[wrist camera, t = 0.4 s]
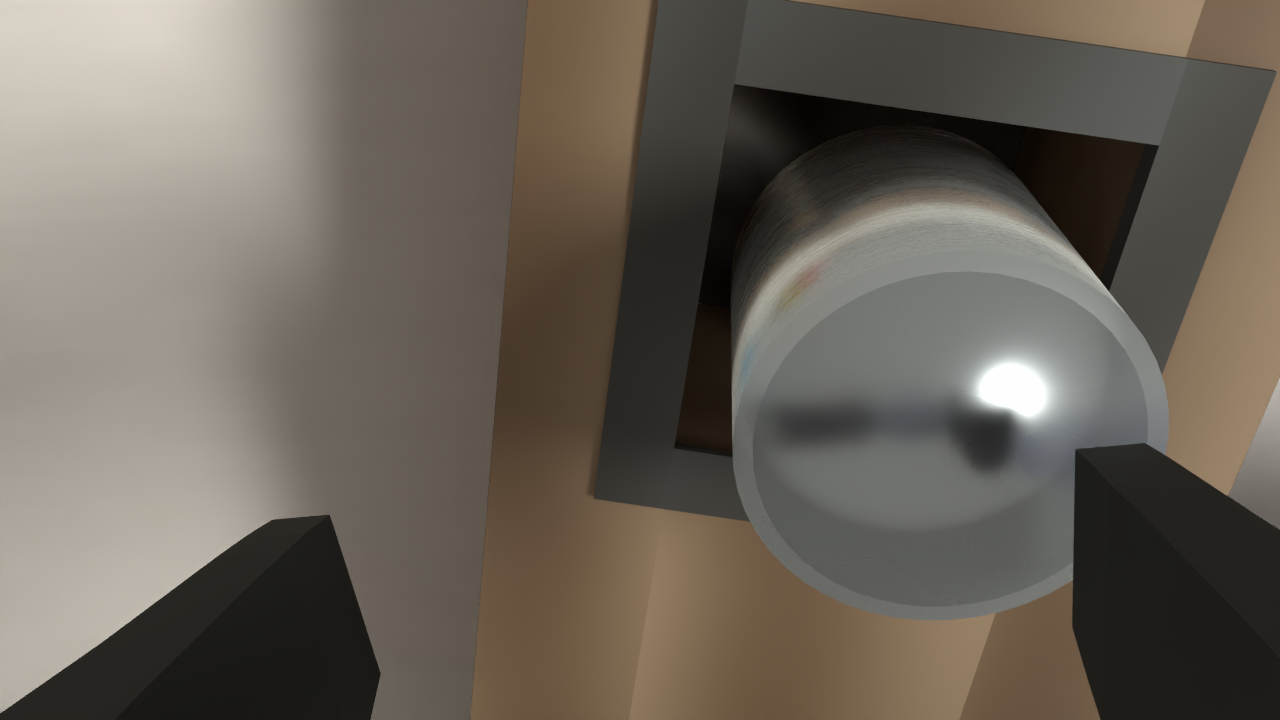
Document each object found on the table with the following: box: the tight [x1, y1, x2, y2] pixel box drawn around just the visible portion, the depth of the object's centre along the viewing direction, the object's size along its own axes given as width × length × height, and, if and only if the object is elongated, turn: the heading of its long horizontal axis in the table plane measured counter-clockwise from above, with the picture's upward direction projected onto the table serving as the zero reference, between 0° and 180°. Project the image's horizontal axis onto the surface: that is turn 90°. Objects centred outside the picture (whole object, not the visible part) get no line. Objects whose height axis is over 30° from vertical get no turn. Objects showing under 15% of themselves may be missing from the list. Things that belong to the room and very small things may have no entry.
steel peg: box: [731, 125, 1169, 620], centre depth 13 cm, size 4×4×4 cm
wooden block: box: [470, 0, 1280, 720], centre depth 19 cm, size 10×24×5 cm, turn 173°
